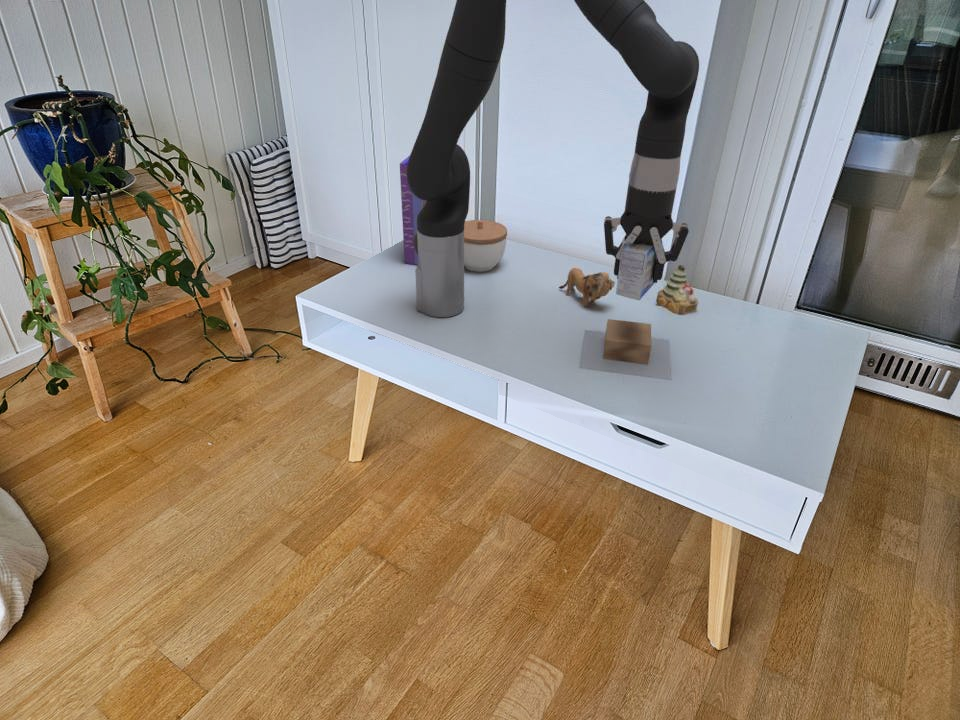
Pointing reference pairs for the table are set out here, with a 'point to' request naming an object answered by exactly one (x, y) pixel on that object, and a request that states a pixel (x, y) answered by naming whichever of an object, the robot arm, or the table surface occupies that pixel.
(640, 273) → the medicine box
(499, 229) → the lidded bowl
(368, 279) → the table surface
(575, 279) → the lion figurine
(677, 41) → the robot arm
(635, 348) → the base brick
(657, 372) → the plate
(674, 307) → the ornament
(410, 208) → the cereal box
